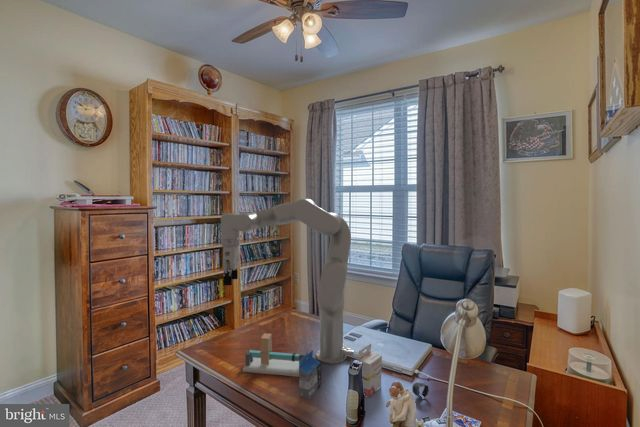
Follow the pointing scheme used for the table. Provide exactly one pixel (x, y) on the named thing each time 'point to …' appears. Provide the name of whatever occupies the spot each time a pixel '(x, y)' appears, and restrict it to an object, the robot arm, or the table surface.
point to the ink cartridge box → (370, 370)
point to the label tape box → (309, 376)
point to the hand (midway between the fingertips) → (231, 282)
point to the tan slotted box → (266, 348)
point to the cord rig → (274, 363)
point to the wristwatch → (416, 389)
